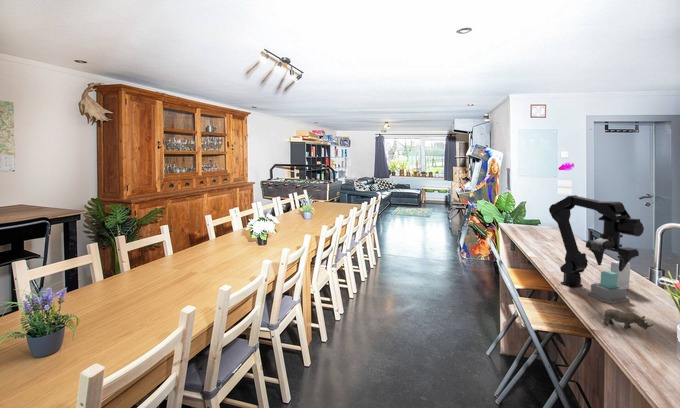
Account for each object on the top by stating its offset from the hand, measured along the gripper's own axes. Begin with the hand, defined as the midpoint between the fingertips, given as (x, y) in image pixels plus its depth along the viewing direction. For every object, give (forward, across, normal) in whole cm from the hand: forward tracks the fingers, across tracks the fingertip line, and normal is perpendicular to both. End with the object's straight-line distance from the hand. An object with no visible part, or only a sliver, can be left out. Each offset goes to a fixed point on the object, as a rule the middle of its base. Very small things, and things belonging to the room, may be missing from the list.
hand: (609, 268), depth 151 cm
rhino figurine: (+13, +23, -19) cm, 33 cm away
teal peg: (+12, 0, 0) cm, 12 cm away
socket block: (+13, 0, 0) cm, 13 cm away
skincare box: (+13, -7, +15) cm, 21 cm away
